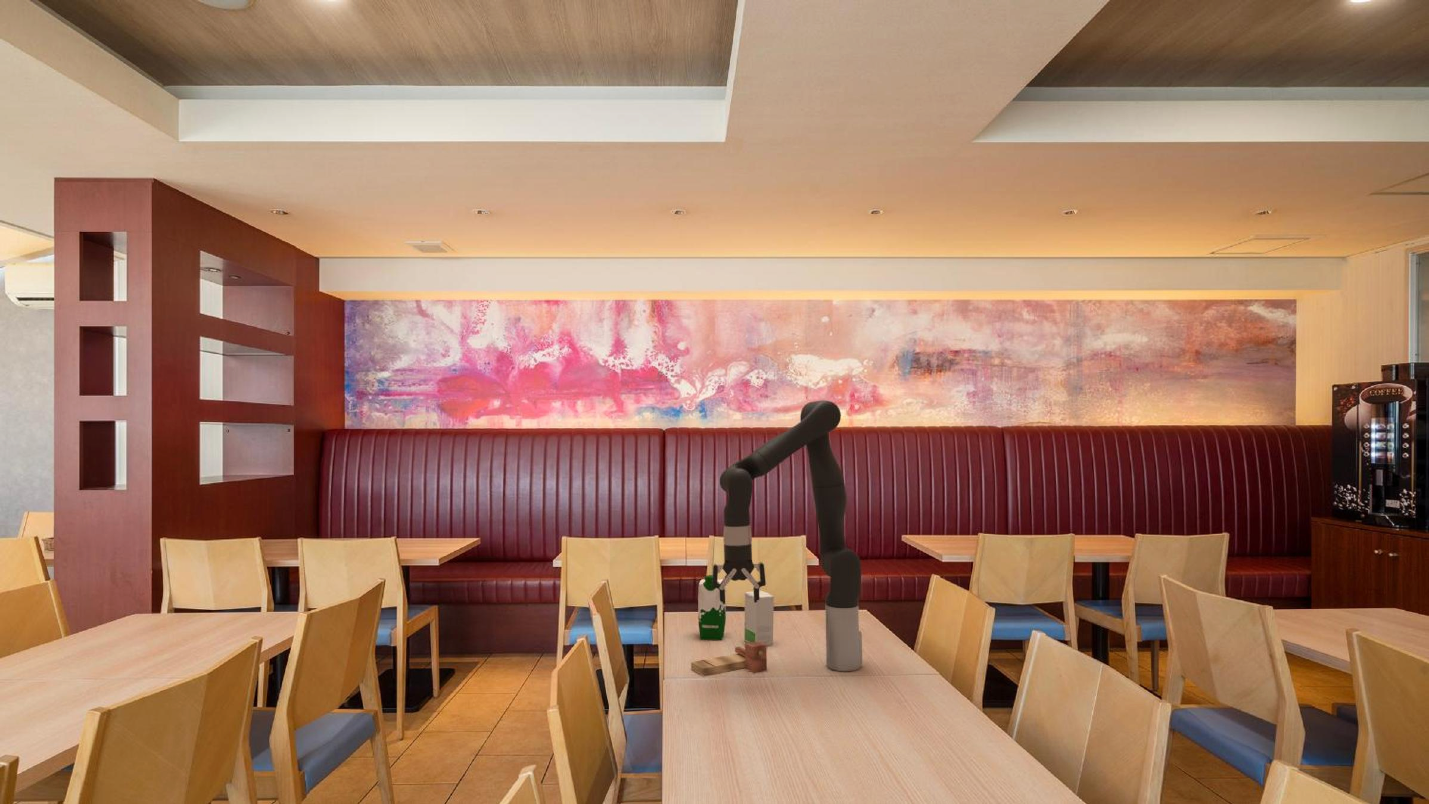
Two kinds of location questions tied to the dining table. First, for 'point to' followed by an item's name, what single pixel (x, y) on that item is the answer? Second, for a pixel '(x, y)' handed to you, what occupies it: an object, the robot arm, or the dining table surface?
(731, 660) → the board
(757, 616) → the skincare box
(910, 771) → the dining table surface
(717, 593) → the milk carton
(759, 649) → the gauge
